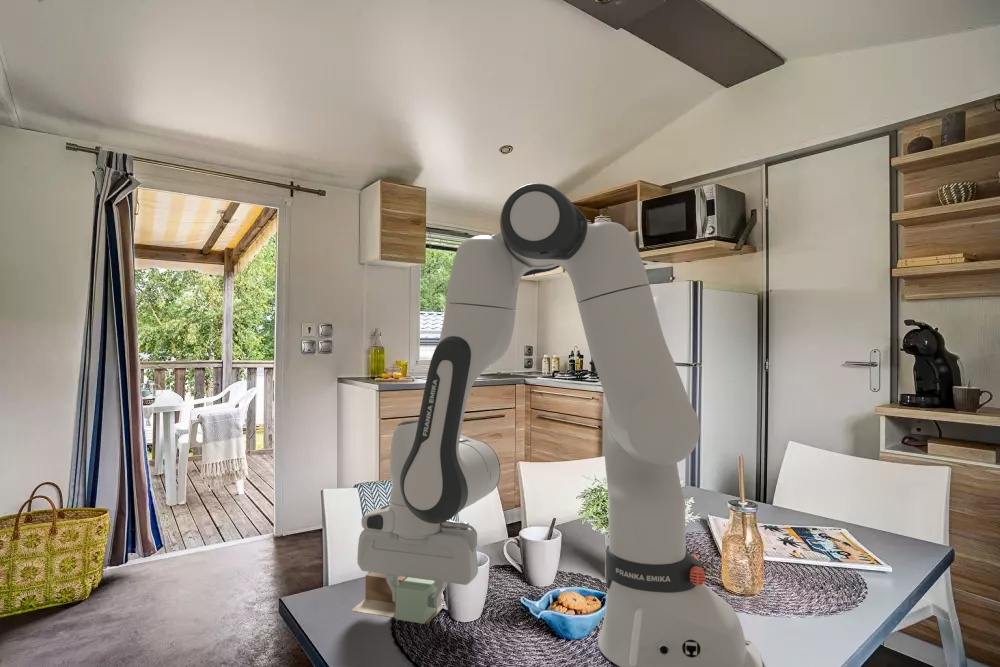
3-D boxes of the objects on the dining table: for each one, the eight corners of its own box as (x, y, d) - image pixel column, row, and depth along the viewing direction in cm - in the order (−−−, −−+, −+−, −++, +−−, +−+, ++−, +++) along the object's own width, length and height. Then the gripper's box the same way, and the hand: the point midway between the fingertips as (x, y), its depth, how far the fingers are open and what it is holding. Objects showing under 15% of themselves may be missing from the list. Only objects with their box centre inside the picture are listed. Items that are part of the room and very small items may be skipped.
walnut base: (420, 587, 100) (420, 565, 100) (401, 604, 93) (402, 580, 93) (385, 582, 102) (386, 560, 102) (365, 598, 95) (365, 575, 95)
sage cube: (437, 609, 91) (437, 579, 91) (424, 623, 86) (424, 591, 87) (409, 605, 93) (410, 575, 93) (395, 619, 88) (395, 587, 88)
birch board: (457, 597, 98) (457, 591, 98) (428, 629, 87) (428, 622, 87) (387, 587, 102) (387, 581, 102) (350, 616, 91) (350, 610, 91)
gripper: (483, 517, 90) (483, 604, 89) (372, 506, 96) (372, 587, 96) (469, 529, 84) (469, 622, 83) (352, 517, 90) (351, 603, 90)
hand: (416, 603), depth 90 cm, fingers closed on sage cube, 5 cm apart
